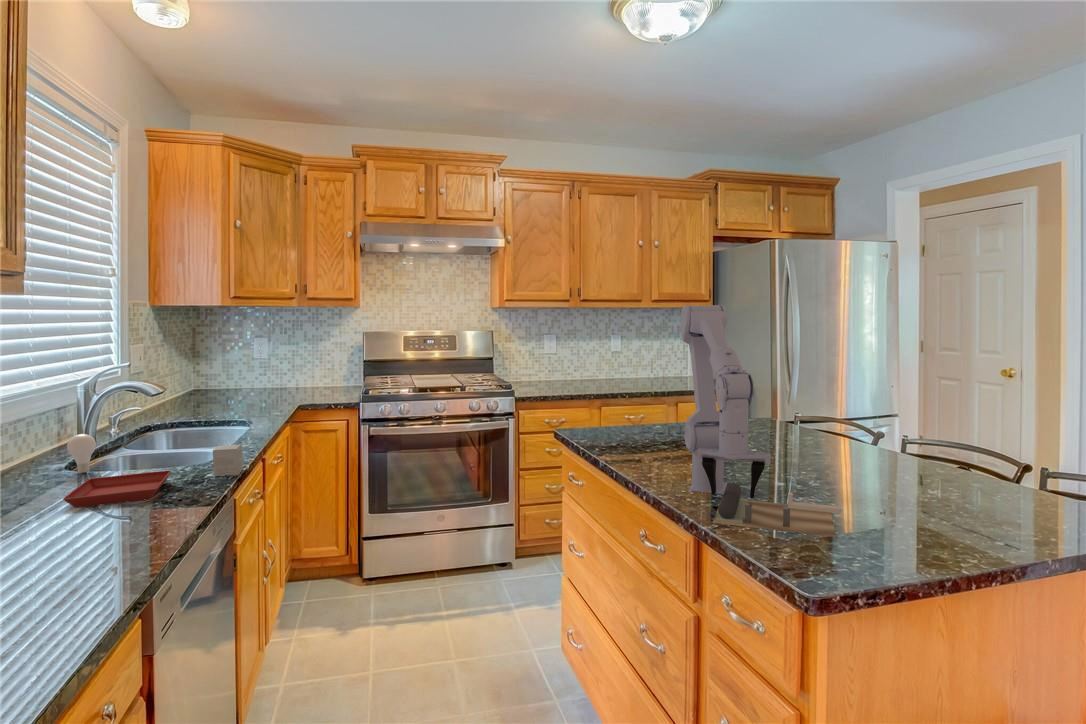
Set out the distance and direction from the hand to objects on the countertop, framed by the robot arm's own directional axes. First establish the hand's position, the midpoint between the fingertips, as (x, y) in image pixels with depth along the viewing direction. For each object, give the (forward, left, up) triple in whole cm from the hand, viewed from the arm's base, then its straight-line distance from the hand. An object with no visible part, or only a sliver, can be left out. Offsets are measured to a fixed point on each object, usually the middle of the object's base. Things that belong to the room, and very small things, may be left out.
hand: (732, 495), depth 125 cm
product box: (+14, -130, -4) cm, 131 cm away
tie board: (0, +8, -4) cm, 9 cm away
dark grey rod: (0, 0, -3) cm, 3 cm away
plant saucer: (+37, -138, -4) cm, 143 cm away
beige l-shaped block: (+6, +15, +1) cm, 16 cm away
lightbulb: (+28, -169, -4) cm, 171 cm away
